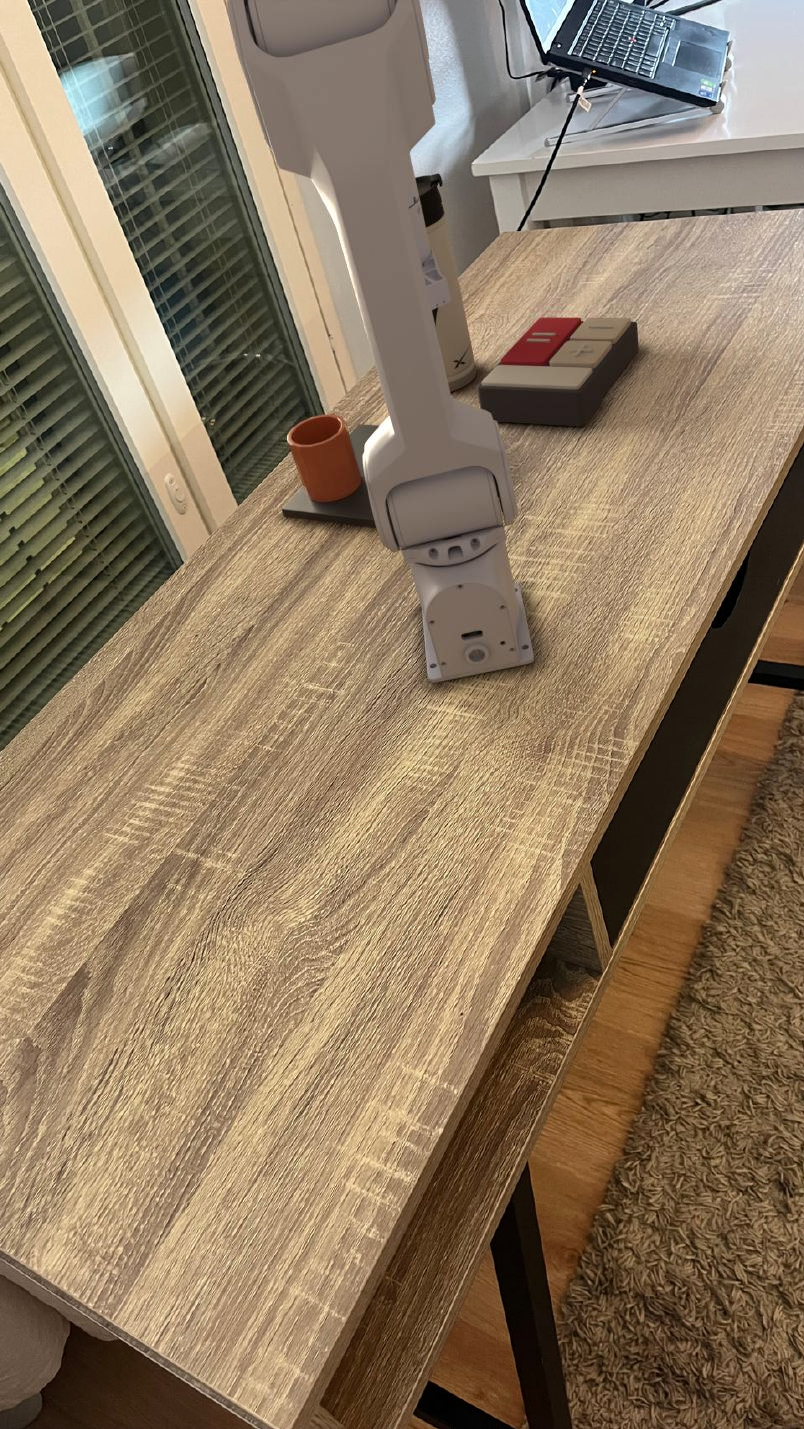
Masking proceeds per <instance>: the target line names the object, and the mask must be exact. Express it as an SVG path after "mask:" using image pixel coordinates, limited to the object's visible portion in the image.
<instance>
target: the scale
mask: <svg viewBox="0 0 804 1429" xmlns="http://www.w3.org/2000/svg"><path fill="white" fill-rule="evenodd" d="M379 427H380V425H375V424H361V423H359V424H358V425H357V426H355V428H354V429H353V430H352V431H351V432H349V435H350V438H351V442H352V445H353V448H354V452H355V455H356V458H357V461H358V465H359V468H360V473H361V476H362V482H361V484H360V486H359V487H358V489H357V490H356V491H354V492H353V493H352V494H350V495H348V496H347V497H345V498H342V499H339V500H336V501H332V502H316V501H313V500H311V499H310V498H309V497H308V496H307V494H306V491H305V490H304V487H303V485H302V486H300V488H299V489H298V490H297V491H296V492H295V494H293V496H292V497H290V499H289V500H288V501H287V502H286V503H285V504H284V506H283V507H282V508H281V512H282V515H283V517H285V518H291V519H301V520H308V521H318V522H325V523H333V524H340V525H341V524H342V525H351V526H358V527H367V528H375V529H377V528H376V524H375V520H374V517H373V512H372V508H371V504H370V499H369V494H368V488H367V485H366V480H365V474H364V467H363V454H364V452H365V449H364V448H365V443H366V442H367V440H368V439H369V438H370V437H371V436H372V434H373V433H374V432H375V431H376V430H377V429H378V428H379Z"/></svg>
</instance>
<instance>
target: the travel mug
mask: <svg viewBox="0 0 804 1429" xmlns="http://www.w3.org/2000/svg"><path fill="white" fill-rule="evenodd" d="M415 180H416V184H417V189H418V194H419V198H420V203H421V208H422V213H423V217H424V222H425V227H426V231H427V236H428V241H429V245H430V248H432V249H433V251H434V255H435V258H436V261H437V264H438V267H439V270H440V272H441V274H442V275H443V276H444V277H445V278H447V281H448V286H449V291H450V296H451V300H452V301H451V302H449V303H447V304H444V305H442V306H440V307H438V312H437V318H436V331H437V336H438V340H439V345H440V349H441V354H442V358H443V363H444V367H445V372H446V376H447V381H448V385H449V389H450V393H452V392H455V391H457V390H460V389H462V388H465V387H466V386H467V385H469V384H470V383H471V382H473V380H474V379H475V378H476V375H477V372H478V371H477V366H476V361H475V355H474V350H473V346H472V340H471V336H470V331H469V326H468V320H467V315H466V311H465V305H464V301H463V295H462V291H461V287H460V281H459V280H460V279H459V275H458V272H457V271H458V270H457V267H456V260H455V255H454V251H453V247H452V240H451V237H450V231H449V226H448V222H447V218H446V217H447V216H446V211H445V210H444V205H443V204H442V203H443V199H442V196H441V193H440V190H439V188H442V187H443V185H444V182H443V179H442V176H441V174H440V173H435V174H431V175H430V174H429V175H426V174H425V175H420V176H415ZM438 186H439V187H438Z"/></svg>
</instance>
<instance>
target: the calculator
mask: <svg viewBox="0 0 804 1429" xmlns="http://www.w3.org/2000/svg"><path fill="white" fill-rule="evenodd" d="M639 347H640V344H639V330H638V323H637V322H636V321H632V320H631V318H630V317H587V318H585V319H584V320H582V318H581V317H545V316H543V317H539V318H538V319H536V320H535V321H534V323H533V324H532V325H531V326H530V327H529V328H528V329H527V331H525V332H524V334H523V335H522V336H520V338H519V339H517V341H516V342H515V344H513V345H512V346H511V348H510V349H509V350H508V351H507V352H506V353H505V354H504V355H503V356H502V357H501V358H500V361H499V362H498V363H497V364H496V366H494V367H493V369H492V370H491V371H490V372H489V373H488V374H487V375H486V376H485V377H484V378H483V379H482V381H480V383H479V384H478V385H477V386H476V390H477V396H478V402H479V408H481V409H483V410H486V411H488V412H490V413H491V414H492V418H493V420H495V421H497V422H498V423H499V422H501V423H502V422H503V423H517V424H532V425H533V424H534V425H535V424H536V425H549V426H550V425H552V426H567V427H585V426H587V424H588V423H589V421H590V420H591V419H592V418H593V417H594V415H595V414H596V413H597V411H598V410H599V409H600V407H601V403H602V400H603V397H604V396H605V394H606V393H607V392H608V391H609V389H610V388H611V387H612V386H613V384H614V383H615V382H616V380H617V379H618V378H619V377H620V375H621V374H622V373H623V371H624V370H625V368H626V367H627V366H628V364H630V362H631V361H632V360H633V358H634V357H635V355H637V353H638V352H639V350H640V348H639Z"/></svg>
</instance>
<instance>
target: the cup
mask: <svg viewBox="0 0 804 1429" xmlns="http://www.w3.org/2000/svg"><path fill="white" fill-rule="evenodd" d="M349 434H350V432H349V428H348V425H347V422H346V420H345V419H344V418H343V416H340V415H338V414H337V415H336V414H329V413H328V414H320V415H316V416H312V417H311V416H310V417H308V418H307V419H304V420H303V421H301V422H299V423H297V424H296V425H295V426H293V427H292V428H291V429H290V431H289V432H288V434H287V439H286V440H287V443H288V446H289V450H290V452H291V455H292V458H293V460H294V463H295V467H296V470H297V472H298V475H299V478H300V481H301V484H302V486H303V487H304V490H305V491H306V494H307V496H308V497H309V498H310V499H311V500H313V501H316V502H332V501H336V500H339V499H342V498H345V497H347V496H348V495H350V494H352V493H353V492H354V491H356V490H357V489H358V487H359V486H360V484H361V482H362V476H361V473H360V468H359V465H358V461H357V458H356V455H355V452H354V448H353V445H352V442H351V438H350V435H349Z"/></svg>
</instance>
